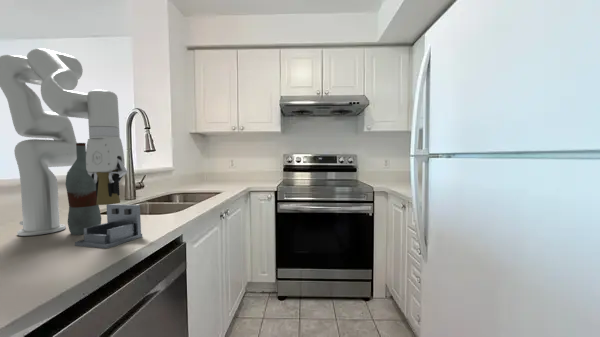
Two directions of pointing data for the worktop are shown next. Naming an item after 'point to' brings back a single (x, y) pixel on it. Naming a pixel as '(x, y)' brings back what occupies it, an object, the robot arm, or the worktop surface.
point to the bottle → (81, 195)
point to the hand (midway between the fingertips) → (108, 195)
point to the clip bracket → (114, 227)
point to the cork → (105, 190)
